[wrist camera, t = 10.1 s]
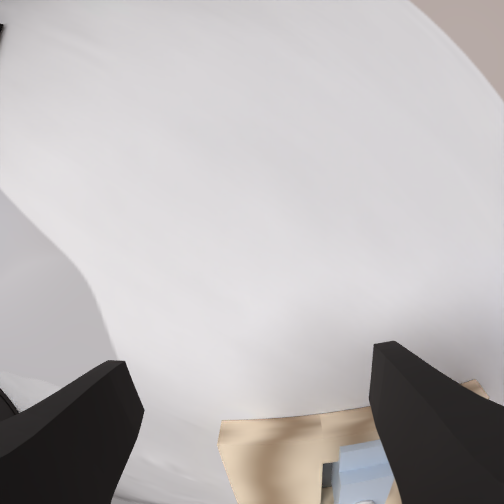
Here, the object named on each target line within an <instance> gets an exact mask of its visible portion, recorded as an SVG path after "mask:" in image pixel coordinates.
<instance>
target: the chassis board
mask: <svg viewBox="0 0 504 504" xmlns="http://www.w3.org/2000/svg"><path fill="white" fill-rule="evenodd" d="M460 385H462V386H464V387H466V388H468V389H469V390H471V391H473V392H475V393H476V394H478V395H480V396H482V397H484V398H486V399H488V400H489V396H488V395H487V394H486V392H485V391H484V390H483V388H482V387H481V386H480V384H479V383H478V382H477V381H476V379H474V380H471V381H468V382H465V383H462V384H460ZM379 439H380V438H379V435H378V432H377V430H376V427H375V423H374V419H373V414H372V410H371V406H369V407H364V408H358V409H352V410H345V411H339V412H332V413H324V414H316V415H307V416H297V417H286V418H273V419H256V420H222V422H221V428H220V433H219V438H218V443H217V446H218V449H219V452H220V455H221V458H222V461H223V464H224V467H225V470H226V473H227V476H228V478H229V481H230V484H231V487H232V489H233V492H234V495H235V497H236V500H237V503H238V504H334V497H333V489H332V487H324V488H321V487H322V468H323V464H324V463H331V462H338V460H339V449H340V446H347V445H353V444H358V443H364V442H369V441H374V440H379ZM385 504H402V502H401V497H400V494H399V490H398V487H397V484H396V481H395V479H394V481H393V484H392V487H391V489H390V492H389V494H388V497H387V500H386V502H385Z"/></svg>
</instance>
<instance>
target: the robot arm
mask: <svg viewBox="0 0 504 504" xmlns="http://www.w3.org/2000/svg"><path fill="white" fill-rule="evenodd" d="M369 401H370V406H371V410H372V414H373V419H374V423H375V427H376V430H377V432H378V435H379V438H380V440H381V443H382V446H383V448H384V451H385V454H386V456H387V459H388V462H389V465H390V467H391V470H392V473H393V476H394V478H395V481H396V484H397V487H398V490H399V494H400V497H401V502H402V504H504V406H502V405H499V404H497V403H495V402H493V401H491V400H488V399H486V398H484V397H482V396H480V395H478V394H476V393H475V392H473V391H471V390H469V389H468V388H466V387H464V386H462V385H460V384H459V383H457V382H455V381H454V380H452V379H451V378H449V377H447V376H446V375H444V374H443V373H441V372H440V371H438V370H437V369H435V368H434V367H432V366H431V365H429V364H428V363H426V362H425V361H423V360H422V359H420V358H419V357H418V356H416V355H415V354H413V353H412V352H410V351H409V350H408V349H406V348H405V347H403V346H402V345H400V344H399V343H397V342H395V341H389V342H384V343H378V344H374V348H373V361H372V373H371V383H370V392H369ZM143 414H144V408H143V405H142V403H141V401H140V398H139V396H138V393H137V391H136V389H135V386H134V384H133V381H132V378H131V376H130V373H129V371H128V368H127V365H126V363H125V361H114V360H108V361H106V362H104V363H102V364H100V365H99V366H97V367H95V368H93V369H92V370H90V371H89V372H87V373H85V374H84V375H82V376H81V377H79V378H78V379H76V380H75V381H73V382H72V383H70V384H68V385H67V386H65V387H64V388H62V389H60V390H59V391H57V392H56V393H54V394H52V395H51V396H49V397H47V398H46V399H44V400H42V401H41V402H39V403H37V404H35V405H34V406H32V407H30V408H28V409H26V410H25V411H23V412H21V413H19V414H17V415H14V416H12V417H10V418H8V419H6V420H3V421H1V422H0V504H111V500H112V497H113V494H114V492H115V489H116V487H117V484H118V482H119V480H120V477H121V475H122V472H123V470H124V468H125V466H126V463H127V461H128V459H129V456H130V454H131V452H132V449H133V447H134V444H135V442H136V440H137V437H138V434H139V430H140V427H141V423H142V418H143Z"/></svg>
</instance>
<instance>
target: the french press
mask: <svg viewBox="0 0 504 504" xmlns="http://www.w3.org/2000/svg"><path fill="white" fill-rule="evenodd" d="M17 414H19V413H18V412H17V410H16V408H15V407H14V405H13V404H12V403H11V401H10V400H9V399H8V397H7V396H6V395H5V394H4V393H3V392H2V390H1V389H0V422H1V421H3V420H6V419H8V418H10V417H12V416H14V415H17Z"/></svg>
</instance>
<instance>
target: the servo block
mask: <svg viewBox="0 0 504 504" xmlns="http://www.w3.org/2000/svg"><path fill="white" fill-rule="evenodd" d="M394 479H395V478H394V476H393V473H392V470H391V467H390V465H389V462H388V459H387V456H386V454H385V451H384V448H383V446H382V443H381V440H380V439H379V440H374V441H369V442H364V443H358V444H353V445H347V446H340V449H339V460H338V462H332V475H331V482H332V489H333V497H334V504H385V502H386V500H387V497H388V494H389V492H390V489H391V487H392V484H393V481H394Z"/></svg>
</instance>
